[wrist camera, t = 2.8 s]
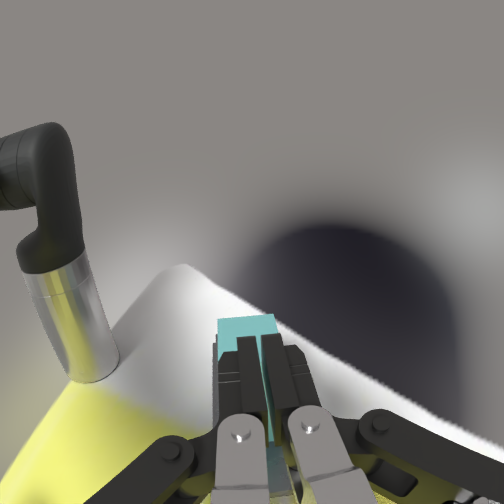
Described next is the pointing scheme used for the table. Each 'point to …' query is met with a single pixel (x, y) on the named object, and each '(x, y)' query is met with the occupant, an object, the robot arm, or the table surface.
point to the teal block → (246, 327)
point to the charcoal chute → (274, 455)
